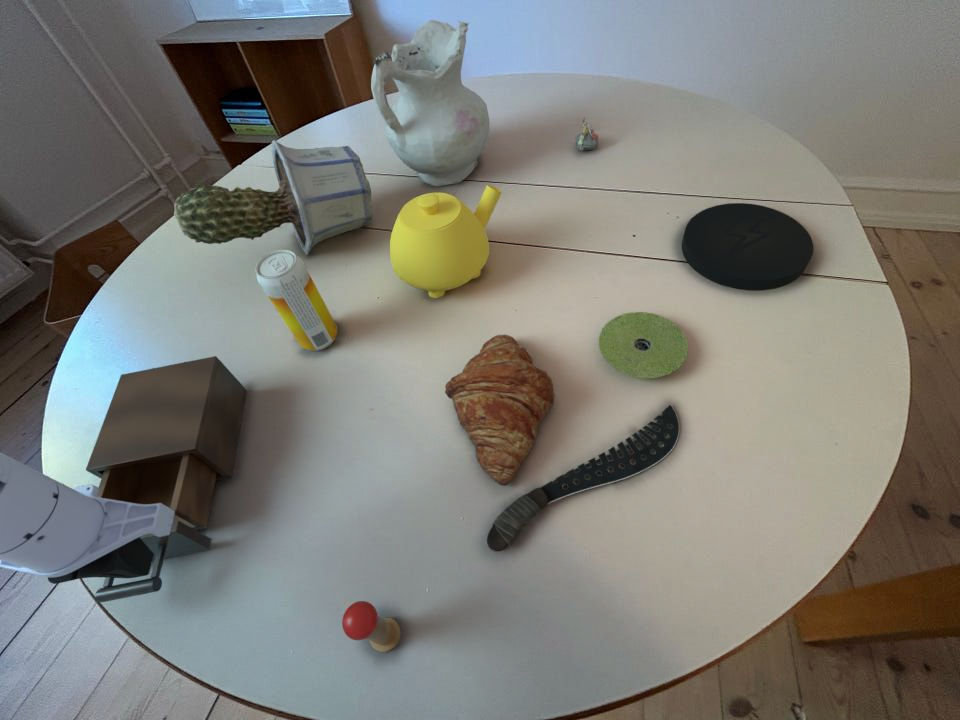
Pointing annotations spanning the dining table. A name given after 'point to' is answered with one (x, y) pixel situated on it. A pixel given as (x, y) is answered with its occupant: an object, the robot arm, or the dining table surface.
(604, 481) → the knife
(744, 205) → the wireless charger
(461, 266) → the teapot
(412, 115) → the ceramic pitcher
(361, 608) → the ball
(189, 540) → the drawer
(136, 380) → the cabinet
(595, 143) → the figurine
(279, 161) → the potted plant
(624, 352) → the green disc
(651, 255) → the dining table surface
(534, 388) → the pastry
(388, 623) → the flanged wooden peg
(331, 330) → the yellow two-tone cylinder
